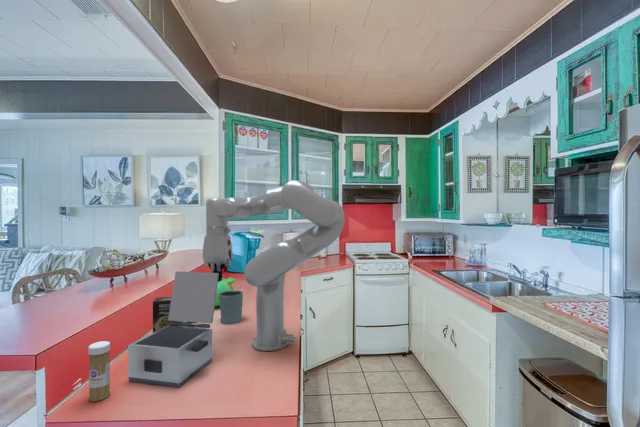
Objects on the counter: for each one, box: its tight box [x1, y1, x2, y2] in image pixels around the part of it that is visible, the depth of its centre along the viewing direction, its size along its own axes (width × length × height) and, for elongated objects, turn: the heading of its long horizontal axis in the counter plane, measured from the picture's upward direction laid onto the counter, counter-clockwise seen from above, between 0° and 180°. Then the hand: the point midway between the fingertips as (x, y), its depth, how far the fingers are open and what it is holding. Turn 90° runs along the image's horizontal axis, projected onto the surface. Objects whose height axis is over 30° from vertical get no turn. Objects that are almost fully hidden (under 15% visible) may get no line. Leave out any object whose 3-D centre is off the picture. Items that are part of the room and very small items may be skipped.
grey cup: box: [219, 290, 244, 325], centre depth 140 cm, size 10×10×12 cm
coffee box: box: [152, 296, 183, 333], centre depth 115 cm, size 9×6×16 cm
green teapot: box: [215, 276, 237, 307], centre depth 163 cm, size 18×17×15 cm
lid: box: [168, 271, 219, 329], centre depth 105 cm, size 16×17×2 cm
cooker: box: [127, 325, 213, 389], centre depth 95 cm, size 20×16×10 cm
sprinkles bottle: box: [87, 340, 111, 402], centre depth 82 cm, size 5×5×14 cm
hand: (217, 281), depth 120 cm, fingers closed
